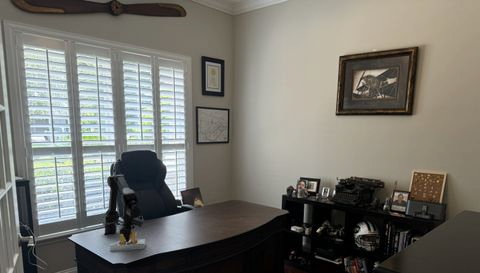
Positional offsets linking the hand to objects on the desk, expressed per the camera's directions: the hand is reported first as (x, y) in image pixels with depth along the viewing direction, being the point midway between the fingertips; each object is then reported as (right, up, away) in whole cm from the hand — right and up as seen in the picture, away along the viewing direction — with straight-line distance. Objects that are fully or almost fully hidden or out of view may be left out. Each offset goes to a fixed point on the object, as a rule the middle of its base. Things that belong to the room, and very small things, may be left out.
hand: (128, 241), depth 161 cm
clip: (0, -2, 0) cm, 2 cm away
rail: (0, -4, 0) cm, 4 cm away
